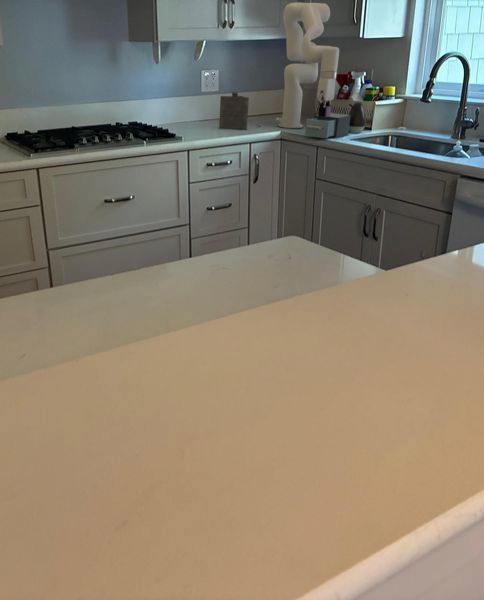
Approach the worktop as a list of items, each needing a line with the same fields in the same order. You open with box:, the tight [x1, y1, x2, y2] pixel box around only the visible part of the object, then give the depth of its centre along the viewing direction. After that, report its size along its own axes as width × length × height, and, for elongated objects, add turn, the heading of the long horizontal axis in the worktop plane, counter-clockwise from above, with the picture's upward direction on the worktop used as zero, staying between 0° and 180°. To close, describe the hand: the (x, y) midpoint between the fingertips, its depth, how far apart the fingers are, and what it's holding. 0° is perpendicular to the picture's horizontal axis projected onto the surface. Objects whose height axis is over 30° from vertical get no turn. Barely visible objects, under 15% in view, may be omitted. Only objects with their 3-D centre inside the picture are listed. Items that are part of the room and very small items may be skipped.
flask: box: [218, 91, 250, 131], centre depth 313 cm, size 4×14×18 cm, turn 81°
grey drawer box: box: [313, 112, 351, 139], centre depth 304 cm, size 15×13×10 cm
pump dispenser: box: [347, 101, 367, 134], centre depth 314 cm, size 10×10×15 cm
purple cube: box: [317, 105, 332, 117], centre depth 293 cm, size 4×4×4 cm
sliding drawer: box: [304, 117, 337, 139], centre depth 294 cm, size 18×11×8 cm, turn 144°
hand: (323, 115), depth 294 cm, fingers closed on purple cube, 4 cm apart
